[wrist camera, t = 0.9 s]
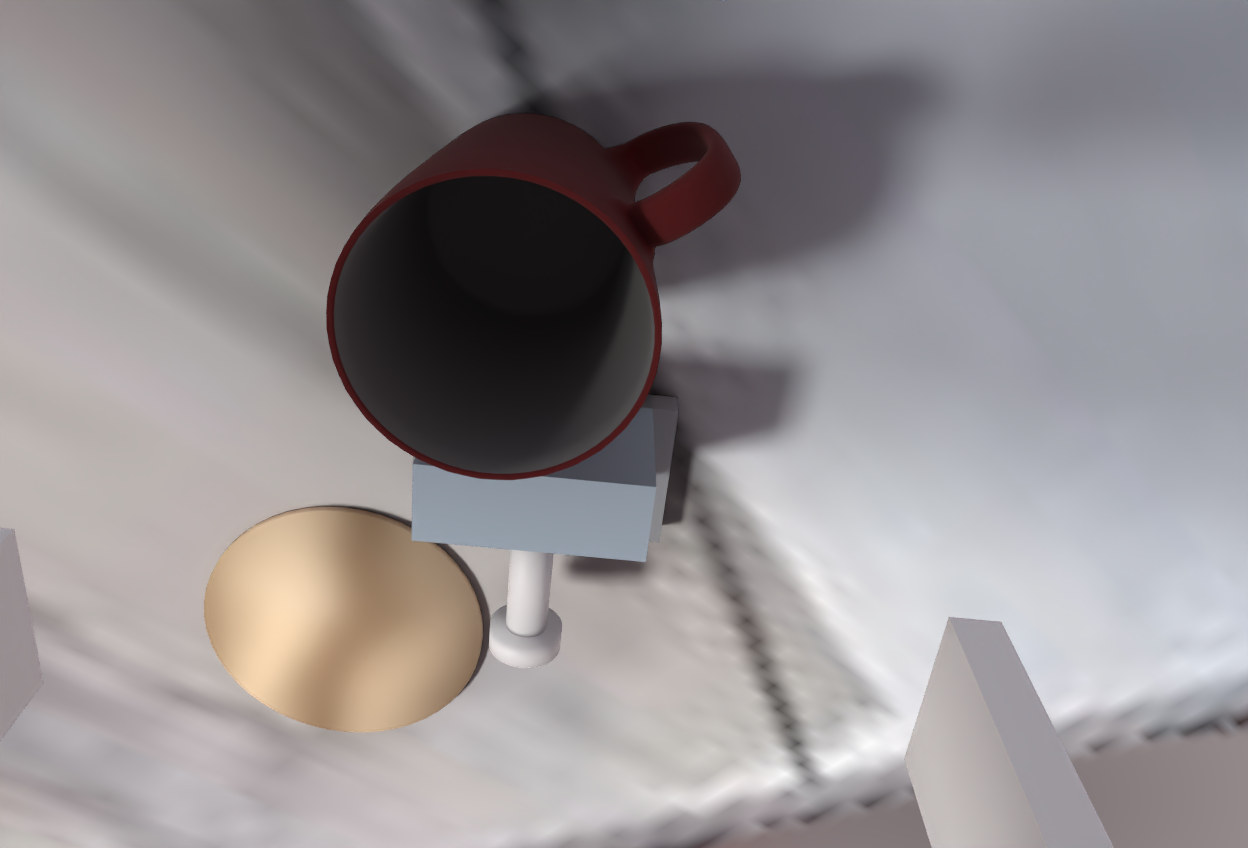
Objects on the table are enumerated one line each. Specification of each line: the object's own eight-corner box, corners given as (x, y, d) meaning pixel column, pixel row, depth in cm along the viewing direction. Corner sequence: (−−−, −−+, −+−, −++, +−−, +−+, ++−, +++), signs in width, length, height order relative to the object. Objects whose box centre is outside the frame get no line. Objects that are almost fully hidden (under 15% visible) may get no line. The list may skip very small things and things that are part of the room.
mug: (640, -20, 34) (645, 19, 24) (774, 206, 37) (827, 321, 27) (354, 181, 37) (254, 290, 27) (502, 373, 40) (462, 530, 30)
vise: (415, 573, 44) (381, 685, 38) (436, -428, 29) (384, -513, 23) (648, 594, 45) (651, 708, 39) (791, -379, 29) (835, -450, 23)
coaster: (217, 714, 48) (214, 720, 48) (196, 493, 43) (193, 498, 42) (477, 736, 49) (475, 742, 48) (489, 520, 43) (488, 525, 43)
